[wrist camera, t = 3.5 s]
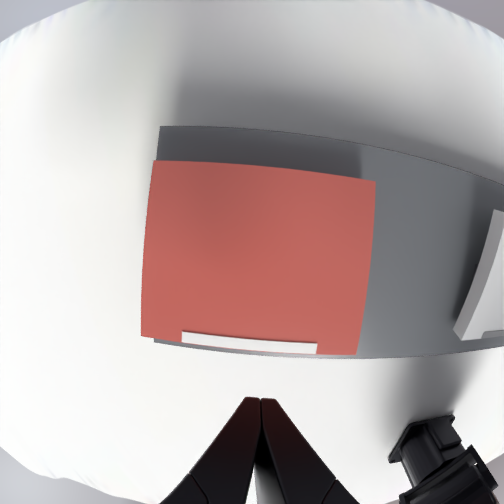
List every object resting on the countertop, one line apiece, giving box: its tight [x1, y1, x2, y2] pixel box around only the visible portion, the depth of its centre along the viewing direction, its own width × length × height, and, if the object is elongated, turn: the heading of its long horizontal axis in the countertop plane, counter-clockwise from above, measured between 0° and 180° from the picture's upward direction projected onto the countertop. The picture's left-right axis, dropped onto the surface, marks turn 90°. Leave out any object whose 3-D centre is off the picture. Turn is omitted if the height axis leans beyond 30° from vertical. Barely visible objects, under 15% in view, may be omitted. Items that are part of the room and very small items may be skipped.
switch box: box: [154, 126, 504, 359], centre depth 16 cm, size 12×29×5 cm, turn 85°
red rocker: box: [141, 161, 376, 355], centre depth 13 cm, size 8×10×1 cm
